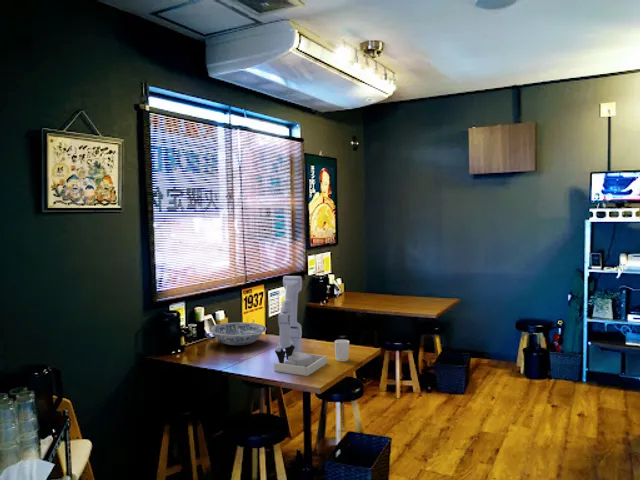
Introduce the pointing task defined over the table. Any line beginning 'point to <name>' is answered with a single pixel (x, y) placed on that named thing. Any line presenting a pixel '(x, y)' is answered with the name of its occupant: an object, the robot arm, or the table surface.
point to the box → (301, 370)
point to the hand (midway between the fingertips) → (285, 361)
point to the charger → (300, 360)
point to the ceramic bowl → (237, 332)
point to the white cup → (341, 349)
